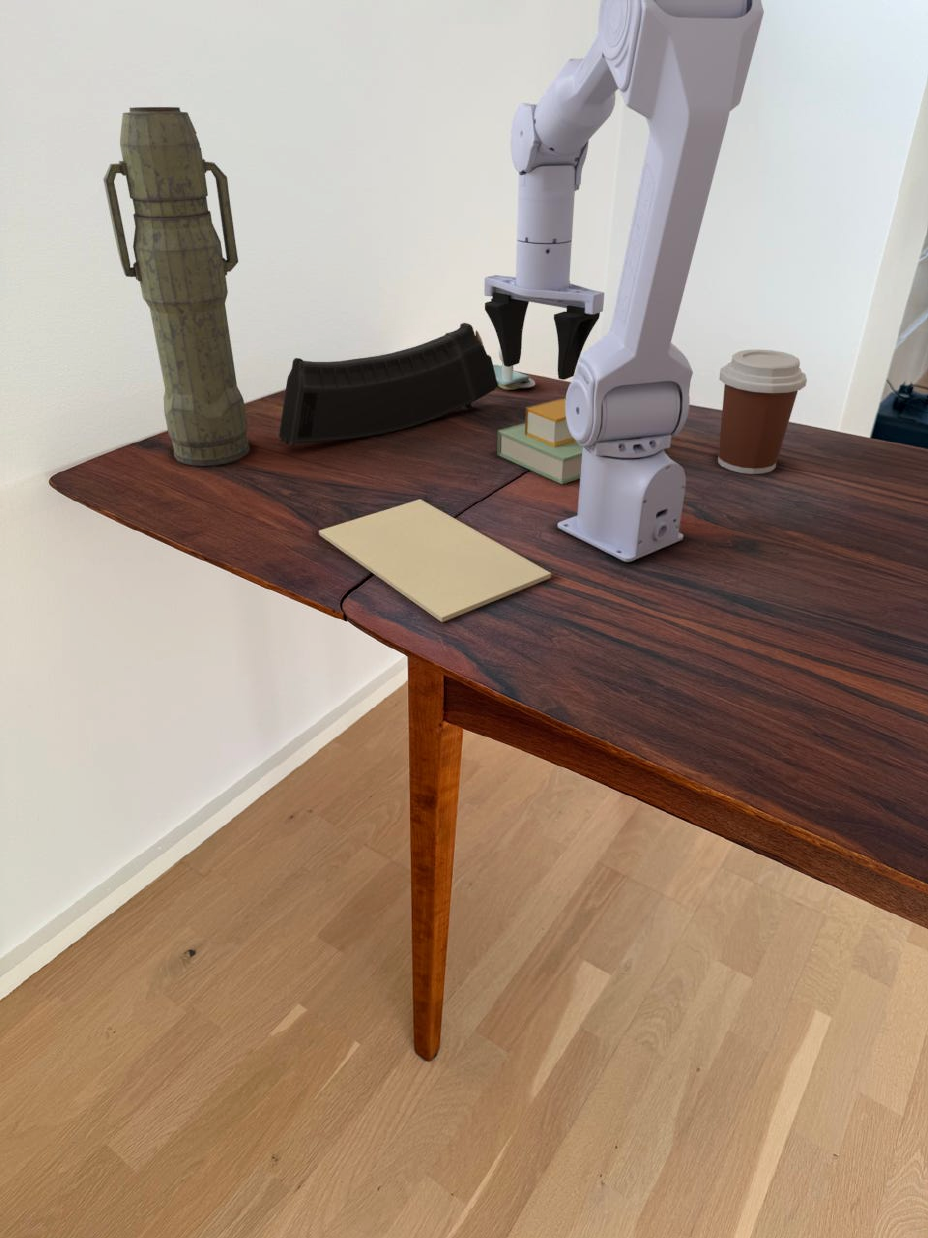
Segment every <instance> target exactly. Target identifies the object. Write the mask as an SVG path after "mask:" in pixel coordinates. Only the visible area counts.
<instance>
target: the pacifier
mask: <svg viewBox="0 0 928 1238" xmlns="http://www.w3.org/2000/svg"><path fill="white" fill-rule="evenodd" d="M498 357H499V360H500V361H501V365H499V364H493V367H494V371H495V376H496V380H497V387H499V388H501V389H504V390H507V391H508V390H518V389H530V388H533V387H535V386H536V381H535V380H534V379H532V378H531V377H532V376H531V375H527V374H524V373H521V372H519V371H516V370H514V365H513V366H510V367H507V366H504V362H503V357H502V352H501V348H500V347H499V348H498ZM523 382H524V383H523Z"/></svg>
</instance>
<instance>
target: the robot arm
mask: <svg viewBox="0 0 928 1238" xmlns="http://www.w3.org/2000/svg"><path fill="white" fill-rule="evenodd" d="M599 1H600V2H599V6H598V7H599V8H598V18H597V19H598V20H597V31H598V32H597V34H596V36H595V37H594V39H593V40H592V43H591V44H590V46H589V48H588V50H587V51H586V53H585V55H584V57H581V58H568V60H567V61H566V62H565V64H564V65H563V67H562V68H561V69H560V71H559V72H558V74H556V76H555V78H554V79H553V80H552V82H551V84H550V85H549V86H548V87H547V89H546V90H545V92H544V94H543V95H542V96H541V97H540V99H539V100H538V101H537V103H536V104H535V103H533V104H531V103H529V102H527V103H526V102H524V103H523V102H522V103H519V104H518V105H517V108H516V110H515V112H514V115H513V117H512V122H511V129H510V156H511V160H512V164H513V167H514V169H515V170H516V172H518V188H517V189H518V190H517V191H518V192H517V223H516V225H517V226H516V255H515V256H516V257H515V260H516V261H515V276H510V275H509V276H507V275H499V274H494V275H489V276H485V277H484V290H483V291H484V292H483V294H484V296H486V297H491V298H490V301H486V302H485V303H484V311H485V312H486V314H487V316H488V317H489V320H490V321H491V323H492V327H493V328H494V331H495V333H496V336H497V340H498V344H499V348H501V352H502V357H503V362H504V366H507V367H510V366H513V367H514V366H516V365H519V364H520V362H521V358H522V357H521V356H522V348H523V347H522V343H523V330H524V325H525V318H526V316H527V310H528V306H529V303H535V304H541V305H546V306H551V307H557V308H564V309H566V311H565V310H564V311H561V312H558V313H554V314H553V321H554V325H555V331H556V337H557V348H558V351H557V353H558V354H557V378H558V379H559V380H562V381H564V380H568V379H570V378H572V377H573V379H572V381H571V382H570V383H569V386H568V388H567V390H566V395H565V397H566V400H565V414H566V421H567V425H568V429H569V431H570V434H571V435H572V437H573V438H574V439H575V440H576V442H577V443H578V444H579V445H581V446H583V450H582V463H581V476H580V479H579V488H578V489H579V490H578V502H577V503H578V504H577V515H574V516H573V517H572V516H571V517H569V518H567V519H564V520H561V521H558V523H557V526H556V527H557V529H560V530H561V531H563V532H565V533H567V534H569V535H571V536H573V537H575V538H577V539H579V540H581V541H582V542H585V543H587V544H588V545H591V546H593V547H595V548H597V549H598V550H601V551H603V552H605V553H606V554H608V555H610V556H613V557H614V558H616V559H618V560H620V561H622V562H624V563H631V562H634V561H636V560H638V559H641V558H643V557H645V556H648V555H650V554H653V553H655V552H657V551H659V550H661V549H664V548H666V547H669V546H671V545H674V544H676V543H678V542H680V541H682V540H683V539H684V534H683V533H681V532H680V527H681V520H682V513H683V508H684V501H685V493H686V487H687V477H686V473H685V469H684V467H682V466H681V465H680V464H679V463H677V462H676V461H674V460H673V459H672V458H670V456H669V455H668V454H667V453H666V451H665V449H669V448H671V443H672V442H671V441H672V438H673V437H676V436H677V435H679V434H680V433H681V431H682V430H683V428H684V426H685V424H686V422H687V420H688V417H689V412H690V404H691V403H690V401H691V400H690V391H691V390H690V388H691V382H692V377H693V374H694V371H693V368H692V367H691V364H690V362H689V359H688V357H686V355H685V354H684V353H683V351H681V350H680V349H679V348H678V347H677V346H676V345H675V344H673V343H672V339H673V335H674V333H675V327H676V324H677V319H678V316H679V312H680V309H681V308H680V307H681V304H682V302H683V301H682V300H683V296H684V292H685V290H686V284H687V281H688V277H689V273H690V269H691V265H692V261H693V258H694V255H695V254H694V253H695V249H696V246H697V243H698V238H699V235H700V230H701V226H702V223H703V219H704V215H705V211H706V207H707V204H708V200H709V196H710V191H711V188H712V184H713V180H714V176H715V173H716V168H717V165H718V161H719V157H720V153H721V149H722V144H723V142H724V141H723V140H724V139H725V138H724V137H725V133H726V129H727V126H728V121H729V117H730V112H731V111H733V110H734V109H736V108H737V107H738V106H739V105H740V103H741V101H742V100H741V99H742V97H743V93H744V89H745V85H746V82H747V78H748V74H749V70H750V67H751V64H752V59H753V55H754V51H755V48H756V44H757V40H758V37H759V34H760V29H761V25H762V21H763V18H764V13H765V11H764V8H763V3H762V0H599ZM617 91H619V93H620V96H621V97H622V99H623V102H624V104H625V106H626V107H627V108H628V109H631V111H634V112H636V113H637V114H639V115H641V116H643V117H644V118H645V120H646V122H647V125H648V129H649V133H648V140H647V143H646V149H645V154H644V159H643V164H642V169H641V174H640V179H639V184H638V189H637V194H636V199H635V204H634V209H633V212H632V213H633V214H632V219H631V224H630V229H629V232H628V233H629V234H628V239H627V243H626V249H625V254H624V259H623V262H622V263H623V264H622V268H621V273H620V279H619V284H618V289H617V293H616V299H615V304H614V309H613V313H612V319H611V324H610V328H609V332H607V334H606V335H604V336H603V337H602V338H601V339H599V340H597V341H596V342H595V343H594V344H593V345H590V346H589V348H587V349H586V350H585V351H584V352H583V353H582V351H583V348H584V346H585V344H586V341H587V340H588V338H589V336H590V334H591V332H592V330H593V329H594V327H595V325H596V324H597V322H598V321H599V319H600V315H601V313H602V312H604V304H605V292H604V291H599V290H594V289H590V288H587V287H585V286H580V285H577V284H574V283H571V280H570V277H571V261H572V243H573V229H574V227H573V226H574V211H575V196H576V195H575V194H576V192H577V191H579V190H580V186H581V184H582V171H583V168H584V164H585V162H586V159H587V154H588V149H589V141H590V139H591V138H592V137H593V136H594V135H595V134H596V133H597V131H598V130H600V128H601V127H602V126H603V125H604V124H605V123H606V122H607V120H608V119H609V118H610V117H611V115H612V114H613V111H614V108H615V105H616V92H617Z"/></svg>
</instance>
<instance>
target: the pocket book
mask: <svg viewBox="0 0 928 1238" xmlns="http://www.w3.org/2000/svg"><path fill="white" fill-rule="evenodd" d="M565 400H566V396H563V397H560V398H556V399H553V400H549V401H546V402H542V403H538V404H534V405H530V406H526V407H525V418H524V419H525V420H524V421H525V422H524V423H525V435H527V436H529V437H532V438H534V439H536V440H539V441H541V442H543V443H546V444H548V445H551V446H553V447H557V446H561V445H564V444H567V443H571V442H574V441H576V440H575V439H574V438H573V437H572V435H571V434H570V431H569V429H568V425H567V421H566V414H565Z"/></svg>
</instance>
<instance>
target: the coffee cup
mask: <svg viewBox="0 0 928 1238" xmlns="http://www.w3.org/2000/svg"><path fill="white" fill-rule="evenodd" d="M800 365H801V361H800V359H799V358H798V357H797V356H796V355H793V354H791V353H788V352H784V351H779V350H772V349H745V350H739V351H737V352H735V353H733V354H732V356H731V361H730V362H728V363H727V364H726V365H725V366H723V367H721V368H720V370H719V378H718V380H719V381H721V382H722V383H723V385H724V387H723V388H724V389H723V399H722V412H721V424H720V436H719V449H718V456H717V463H718V464H719V465H720V466H721V467H722V468H724V469H726V470H729V471H732V472H736V473H740V474H747V475H757V474H758V475H759V474H766V473H770V472H772V471H774V470H775V469H776V466H777V462H778V458H779V455H780V452H781V449H782V446H783V442H784V438H785V436H786V433H787V428H788V425H789V422H790V419H791V416H792V412H793V409H794V405H795V403H796V398H797V395H798V392H799V391H801V390H802V389H804V388H805V387H806V386H807V382H808V378H807V374H806V373H805V372H803V371H802V369H801V368H800Z"/></svg>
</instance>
